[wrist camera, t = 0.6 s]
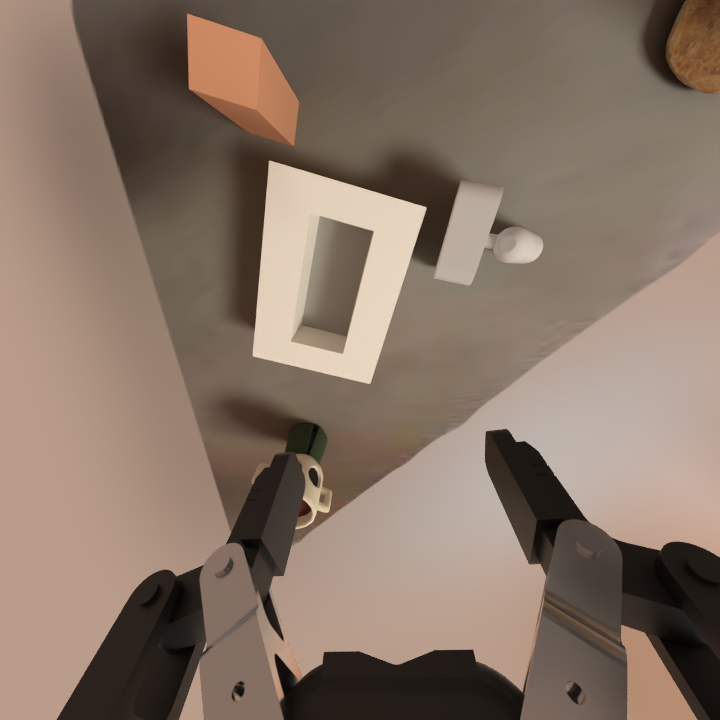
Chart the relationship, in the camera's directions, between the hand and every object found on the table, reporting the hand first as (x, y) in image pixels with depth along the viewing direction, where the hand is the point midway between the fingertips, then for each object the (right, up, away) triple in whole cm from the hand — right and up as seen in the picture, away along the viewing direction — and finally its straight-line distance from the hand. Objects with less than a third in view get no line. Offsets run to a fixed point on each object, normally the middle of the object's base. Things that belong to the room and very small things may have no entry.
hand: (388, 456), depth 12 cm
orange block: (-10, +28, +15) cm, 33 cm away
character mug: (-10, -8, +33) cm, 36 cm away
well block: (-4, +14, +22) cm, 26 cm away
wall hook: (+12, +18, +19) cm, 29 cm away
